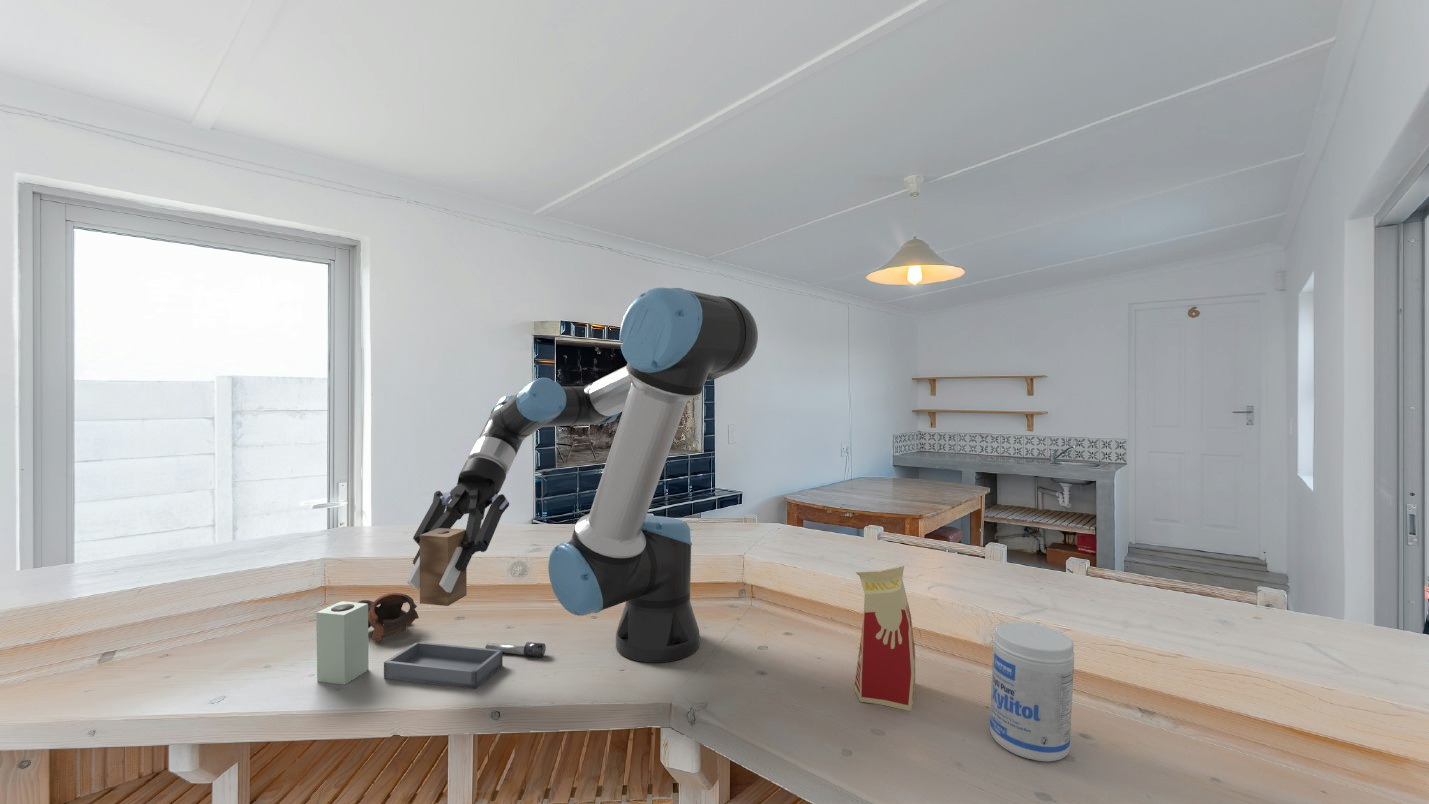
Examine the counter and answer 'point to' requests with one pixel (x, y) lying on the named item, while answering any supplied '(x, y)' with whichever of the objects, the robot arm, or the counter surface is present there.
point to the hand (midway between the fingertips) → (428, 586)
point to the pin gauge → (520, 649)
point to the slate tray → (444, 664)
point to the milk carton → (886, 642)
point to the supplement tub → (1032, 690)
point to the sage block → (342, 642)
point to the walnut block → (440, 566)
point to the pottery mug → (389, 615)
